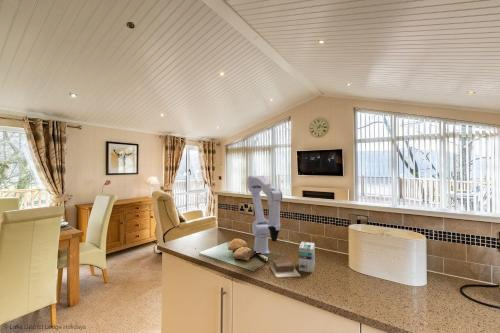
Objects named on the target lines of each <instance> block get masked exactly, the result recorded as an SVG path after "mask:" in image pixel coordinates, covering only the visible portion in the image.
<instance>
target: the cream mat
mask: <svg viewBox="0 0 500 333" xmlns="http://www.w3.org/2000/svg"><path fill="white" fill-rule="evenodd" d="M270 270H271V271H272V273H273V275H274V277H276V278H290V277H291V278H292V277H294V278H295V277H301V273H300V272H298V270H297V269H296V268H295V267H294V271H286V272H277V271H276V270H275V268H274V266H273V267H272V266H271V267H270Z"/></svg>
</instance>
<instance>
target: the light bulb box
mask: <svg viewBox="0 0 500 333" xmlns="http://www.w3.org/2000/svg"><path fill="white" fill-rule="evenodd" d="M315 246H316V243H315V242H309V241H308V242H307V241H301V243H300V244H299V248H298V271H300V272H304V273H305V272H306V273H312V274H313V273H314V269H315V264H316V263H315V262H316V261H315V259H316V258H315V256H316V255H315V254H316V248H315Z"/></svg>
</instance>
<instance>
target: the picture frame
mask: <svg viewBox="0 0 500 333" xmlns="http://www.w3.org/2000/svg"><path fill="white" fill-rule="evenodd" d="M272 266H273V267H274V268H275V270H276V271H277V272H286V271H294V268H295V265H294V264H293V263H292V261H291V260H290V259H279V260H278V259H277V260H276V259H275V260H272Z"/></svg>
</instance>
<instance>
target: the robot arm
mask: <svg viewBox="0 0 500 333" xmlns="http://www.w3.org/2000/svg"><path fill="white" fill-rule="evenodd" d="M246 184H247V188H248V191H249V192H250V193H251V199H252V204H253V209H254V215H255V220H253V222H252V223H251V227H252V229H251V230H252V234H253V236H255V237H254V247H253V248H252V249H253V252H255V251H256V252H259V253H261V254H260V255H263V254H264V255H265V254H267V255H268V254H271V252H270V250H269V237H270V239H271V242H277V240H278V236H279V233H280V231H281V202H282V200H283V193H282V191H281V190H280V189H279V190H278V189H276V188H275V187H274V186H273V185H272V184H271V183H268V182H267V180H266V177H265V176H264V175H248V177H247V182H246ZM260 192H263V194H264V195H265V196H266V199H267V205H268V218H265V214H264V209H263V208H264V207H263V205H262V199H261V193H260Z"/></svg>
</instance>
